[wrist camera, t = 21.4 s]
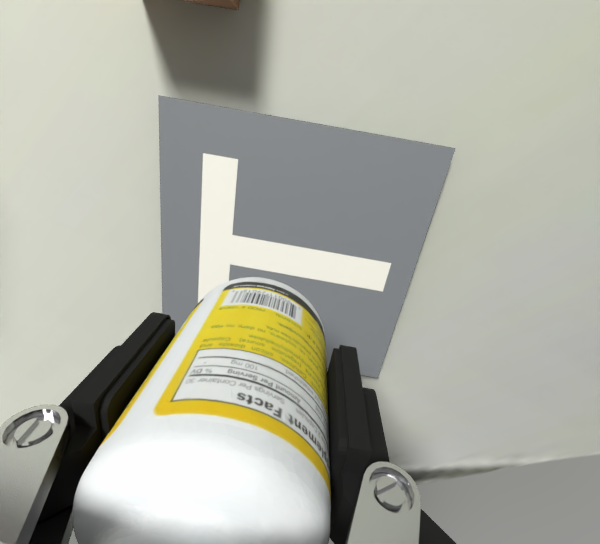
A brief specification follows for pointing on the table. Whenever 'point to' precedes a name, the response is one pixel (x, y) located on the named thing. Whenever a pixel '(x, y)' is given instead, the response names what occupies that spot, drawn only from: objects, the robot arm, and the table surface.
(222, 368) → the supplement bottle
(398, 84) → the table surface
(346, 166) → the letter pad
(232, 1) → the covering block
